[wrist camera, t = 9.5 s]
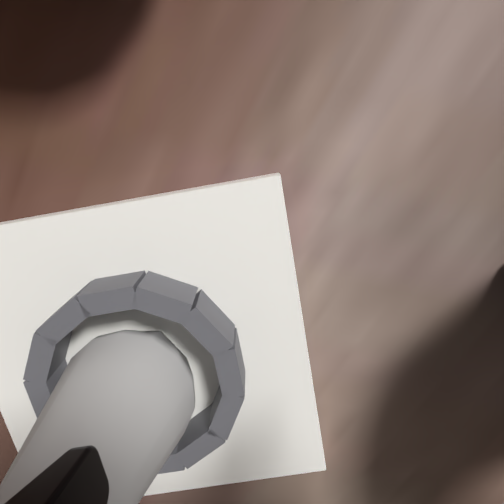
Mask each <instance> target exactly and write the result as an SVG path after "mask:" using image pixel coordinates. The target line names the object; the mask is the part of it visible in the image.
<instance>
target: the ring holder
mask: <svg viewBox="0 0 504 504" xmlns="http://www.w3.org/2000/svg"><path fill="white" fill-rule="evenodd" d="M121 330H137V331H162V332H163V333H164V334H165V336H166V337H167V338H168V339H169V340H170V341H171V342H172V343H173V344H174V345H175V346H176V347H177V348H178V349H179V350H180V351H181V352H182V353H183V354H184V355H185V356H186V357H187V360H188V362H189V365H190V368H191V371H192V373H193V379H194V390H195V409H194V412H193V414H192V416H191V419H190V421H189V423H188V426H187V428H186V430H185V433H184V434H183V436H182V437H181V439H180V440H179V442H178V444H177V445H176V447H175V448H174V450H173V451H172V453H171V454H170V456H169V457H168V459H167V460H166V462H165V463H164V465H163V467H162V468H161V470H160V471H159V473H158V474H157V476H156V477H155V479H154V480H153V482H152V483H151V485H150V486H149V488H148V490H147V491H146V493H145V494H144V496H146V495H154V494H161V493H168V492H175V491H182V490H189V489H196V488H203V487H210V486H217V485H224V484H231V483H238V482H245V481H252V480H259V479H267V478H274V477H281V476H288V475H295V474H302V473H309V472H316V471H323V470H326V464H325V458H324V451H323V445H322V439H321V432H320V426H319V419H318V413H317V407H316V400H315V394H314V387H313V381H312V375H311V368H310V362H309V355H308V349H307V342H306V336H305V330H304V323H303V317H302V310H301V304H300V298H299V291H298V285H297V278H296V272H295V266H294V259H293V253H292V246H291V240H290V234H289V227H288V221H287V214H286V208H285V202H284V195H283V189H282V182H281V176H280V173H279V172H278V173H273V174H267V175H262V176H256V177H251V178H245V179H239V180H234V181H228V182H223V183H217V184H212V185H206V186H200V187H195V188H189V189H184V190H178V191H173V192H167V193H161V194H156V195H150V196H145V197H139V198H134V199H128V200H122V201H117V202H111V203H106V204H100V205H95V206H89V207H83V208H78V209H72V210H67V211H61V212H55V213H50V214H44V215H39V216H33V217H28V218H22V219H16V220H11V221H5V222H0V411H1V413H2V416H3V418H4V420H5V423H6V425H7V428H8V430H9V432H10V435H11V437H12V440H13V442H14V444H15V447H16V449H17V451H18V452H19V450H20V449H21V447H22V445H23V443H24V441H25V440H26V438H27V436H28V434H29V433H30V431H31V429H32V427H33V425H34V424H35V422H36V420H37V418H38V417H39V415H40V413H41V411H42V409H43V408H44V406H45V404H46V402H47V400H48V399H49V397H50V395H51V393H52V392H53V390H54V388H55V386H56V384H57V383H58V381H59V379H60V377H61V376H62V374H63V372H64V370H65V368H66V367H67V365H68V363H69V361H70V359H71V358H72V357H73V356H74V355H75V354H76V353H78V352H79V351H80V350H81V349H82V348H83V347H84V346H85V345H87V344H88V343H89V342H90V341H91V340H92V339H94V338H96V337H97V336H100V335H104V334H109V333H113V332H117V331H121Z"/></svg>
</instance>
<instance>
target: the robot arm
mask: <svg viewBox="0 0 504 504" xmlns="http://www.w3.org/2000/svg"><path fill="white" fill-rule="evenodd" d="M108 497H109V481H108V478H107V475H106V472H105V469H104V466H103V463H102V461H101V458H100V455H99V452H98V450H97V448H96V447H95V446H92V445H87V446H81V447H74V448H71V449H69V450H68V451H67V452H65V453H64V454H63V455H62V456H61V457H59V458H58V459H57V460H56V461H55V462H53V463H52V464H51V465H50V466H49V467H47V468H46V469H45V470H44V471H43V472H41V473H40V474H39V475H38V476H37V477H35V478H34V479H33V480H32V481H31V482H30V483H28V484H27V485H26V486H25V487H24V488H22V489H21V490H20V491H19V492H18V493H16V494H15V495H14V496H13V497H12V498H10V499H9V500H8V501H7V502H6V503H4V504H107V502H108Z"/></svg>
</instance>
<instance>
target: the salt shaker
mask: <svg viewBox="0 0 504 504" xmlns="http://www.w3.org/2000/svg"><path fill="white" fill-rule="evenodd" d="M194 409H195V390H194V379H193V373H192V371H191V368H190V365H189V362H188V360H187V357H186V356H185V355H184V354H183V353H182V352H181V351H180V350H179V349H178V348H177V347H176V346H175V345H174V344H173V343H172V342H171V341H170V340H169V339H168V338H167V337H166V336H165V334H164V333H163V332H162V331H137V330H121V331H117V332H113V333H109V334H104V335H100V336H97V337H96V338H94V339H92V340H91V341H90V342H89V343H88V344H87V345H85V346H84V347H83V348H82V349H81V350H80V351H79V352H78V353H76V354H75V355H74V356H73V357H72V358H71V359H70V361H69V363H68V365H67V367H66V368H65V370H64V372H63V374H62V376H61V377H60V379H59V381H58V383H57V384H56V386H55V388H54V390H53V392H52V393H51V395H50V397H49V399H48V400H47V402H46V404H45V406H44V408H43V409H42V411H41V413H40V415H39V417H38V418H37V420H36V422H35V424H34V425H33V427H32V429H31V431H30V433H29V434H28V436H27V438H26V440H25V441H24V443H23V445H22V447H21V449H20V450H19V452H18V454H17V456H16V458H15V459H14V461H13V463H12V465H11V466H10V468H9V470H8V472H7V474H6V475H5V477H4V479H3V481H2V482H1V484H0V504H4V503H6V502H7V501H8V500H9V499H10V498H12V497H13V496H14V495H15V494H16V493H18V492H19V491H20V490H21V489H22V488H24V487H25V486H26V485H27V484H28V483H30V482H31V481H32V480H33V479H34V478H35V477H37V476H38V475H39V474H40V473H41V472H43V471H44V470H45V469H46V468H47V467H49V466H50V465H51V464H52V463H53V462H55V461H56V460H57V459H58V458H59V457H61V456H62V455H63V454H64V453H65V452H67V451H68V450H69V449H71V448H74V447H81V446H87V445H92V446H95V447H96V448H97V450H98V452H99V455H100V458H101V461H102V463H103V466H104V469H105V472H106V475H107V478H108V481H109V497H108V502H107V504H138V503H139V502H140V500H141V499H142V497H143V496H144V494H145V493H146V491H147V490H148V488H149V486H150V485H151V483H152V482H153V480H154V479H155V477H156V476H157V474H158V473H159V471H160V470H161V468H162V467H163V465H164V463H165V462H166V460H167V459H168V457H169V456H170V454H171V453H172V451H173V450H174V448H175V447H176V445H177V444H178V442H179V440H180V439H181V437H182V436H183V434H184V433H185V430H186V428H187V426H188V423H189V421H190V419H191V416H192V414H193V412H194Z"/></svg>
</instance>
